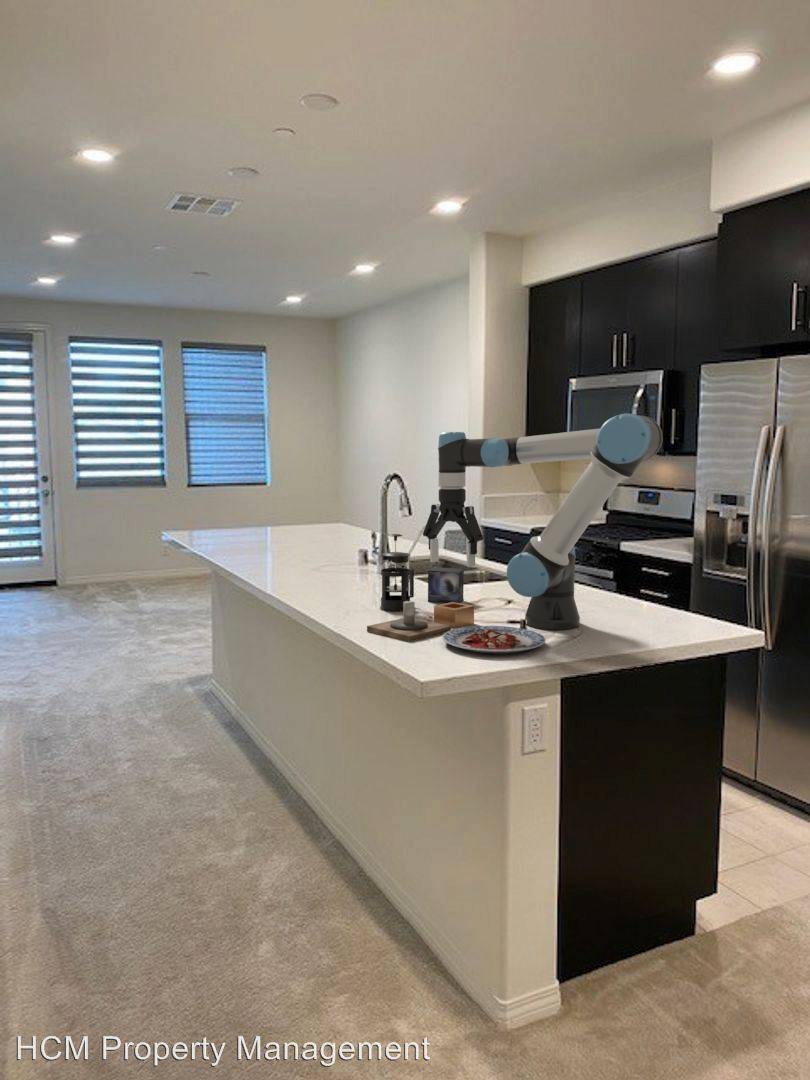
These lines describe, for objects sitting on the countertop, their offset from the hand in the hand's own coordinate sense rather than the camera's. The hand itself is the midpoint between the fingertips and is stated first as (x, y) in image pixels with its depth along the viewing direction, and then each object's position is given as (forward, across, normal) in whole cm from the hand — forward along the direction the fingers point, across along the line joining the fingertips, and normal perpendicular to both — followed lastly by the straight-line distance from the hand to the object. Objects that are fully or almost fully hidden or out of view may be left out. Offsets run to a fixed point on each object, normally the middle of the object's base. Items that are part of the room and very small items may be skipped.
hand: (452, 563), depth 226 cm
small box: (+17, +22, -22) cm, 35 cm away
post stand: (+17, +1, +16) cm, 23 cm away
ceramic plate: (+18, -24, +12) cm, 32 cm away
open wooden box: (+17, -1, 0) cm, 17 cm away
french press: (+17, +25, -3) cm, 30 cm away
